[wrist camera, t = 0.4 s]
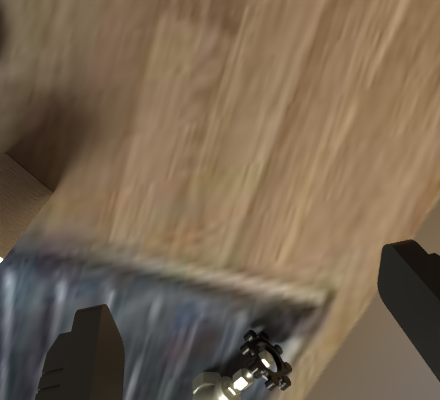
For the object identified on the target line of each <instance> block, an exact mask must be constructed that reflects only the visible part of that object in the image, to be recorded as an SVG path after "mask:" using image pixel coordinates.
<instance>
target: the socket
mask: <svg viewBox="0 0 440 400" xmlns="http://www.w3.org/2000/svg"><path fill="white" fill-rule="evenodd" d="M52 194H53V192H52V191H50V190H49V189H48V188H47V187H46V186H44V185H43V184H42V183H41V182H39V181H38V180H37V179H36V178H35V177H33V176H32V175H31V174H30V173H29V172H27V171H26V170H25V169H24V168H22V167H21V166H20V165H19V164H18V163H16V162H15V161H14V160H13V159H12V158H10V157H9V156H8V155H7V154H6V153H4V154H3V155H1V156H0V262H1V261H2V260H3V259H4V258H5V256H6V255H7V254H8V252H9V251H10V250H11V248H12V247H13V246H14V244H15V243H16V242H17V240H18V239H19V238H20V236H21V235H22V234H23V232H24V231H25V230H26V228H27V227H28V226H29V224H30V223H31V222H32V220H33V219H34V218H35V216H36V215H37V214H38V212H39V211H40V210H41V208H42V207H43V206H44V205H45V203H46V202H47V201H48V199H49V198H50V197H51V195H52Z"/></svg>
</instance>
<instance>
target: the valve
mask: <svg viewBox="0 0 440 400" xmlns="http://www.w3.org/2000/svg"><path fill="white" fill-rule="evenodd" d="M244 339H245V341H246V340H247V339H249V340H250V341H251V342H250V341H246V342H245V343H244V344H243V345H242V346H241V347H240V350H241V352H242V353H243V354H244V355H247V354H248V353H249V354H250V355H251V358H252V359H251V360H249V361H248V362H247V369H246V368H243V369H240V370H239V371H237V372H236V373H235V374H234V375H233V378H230V377H228V376H224V377H221V375H220V374H219V373H218V372H206V371H204V372H201V373H200V374H199V375H198V376H197V377H196V378H195V379H194V380H193V393H194V396H193V399H192V400H240V399H241V390H244V389H246V388H247V387H248V386H250V385H251V384H252V383H253V377H254V378H256V379H259V378H261V377H263V378H264V379H266V380H267V381H266V382H265V386H266V387H267V389H268V390H270V391H272V390H274V389H275V388H276V387H277V386H279V381H280V382H281V385H280V386H279V388H280V389H281V390H283V391H284V390H285V389H287V388H288V387H289V386H291V381H290V379H289V378H288V377H287V375H288V374H289V373H291V372H292V368H291V366H290V364H289V363H287V362H283V360H282V359H281V357H280V355H281V354H282V353H283V351H282V348H281V347H280V346H279V345H277V344H276V345H275V346H272V345H271V344H270V343H269V341H268V340H269V337H268V335H267V334H266V333H265V332H261V333H260V334H258V335H256V333H255V332H254V331H253V330H249V331H248V332H247V333H246V334H245V335H244ZM263 348H264V349H266V350H267V351H268V352H269V353H268V352H267V351H262V352H261V353H260V351H261V350H262V349H263ZM273 359H274V360H273ZM274 361H275V363H276V365H277V372H273V371H271V370H270V368H271V367H272V366H273V365H274Z"/></svg>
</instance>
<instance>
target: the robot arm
mask: <svg viewBox="0 0 440 400" xmlns="http://www.w3.org/2000/svg"><path fill="white" fill-rule="evenodd" d="M377 284H378V291H379V294H380V296H381V299H382V301H383V302H384V304H385V305H386V307H387V308H388V310H389V311H390V312H391V314H392V315H393V316H394V318H395V319H396V321H397V322H398V324H399V325H400V327H401V328H402V329H403V331H404V332H405V334H406V335H407V336H408V338H409V339H410V340H411V342H412V344H413V345H414V346H415V348H416V349H417V351H418V352H419V353H420V355H421V356H422V358H423V359H424V360H425V362H426V363H427V365H428V366H429V367H430V369H431V370H432V372H433V373H434V374H435V376H436V377H437V379H438V380H439V382H440V256H439V255H437V254H436V253H433V254H428V253H427V252H426V251H425V250H424V249H423V248H422V247H421V246H420V245H419V244H418V243H417V242H416V241H414V240H411V239H410V240H405V241H400V242H396V243H391V244H386V245H384V246H383V249H382V254H381V261H380V268H379V275H378V282H377ZM124 363H125V354H124V346H123V341H122V338H121V336H120V333H119V331H118V329H117V326H116V324H115V322H114V319H113V317H112V315H111V313H110V310H109V308H108V306H107V305H106V304H103V305H98V306H94V307H89V308H84V309H80V310H77V311H76V313H75V317H74V321H73V326H72V331H71V332H67V333H63V334H59V336H58V337H57V339H56V340H55V342H54V343H53V345H52V346H51V348H50V349H49V351H48V352H47V355H46V359H45V363H44V367H43V371H42V377H41V378H40V382H39V386H38V389H37V390H38V394H36V397H35V400H122V396H123V380H124Z"/></svg>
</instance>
